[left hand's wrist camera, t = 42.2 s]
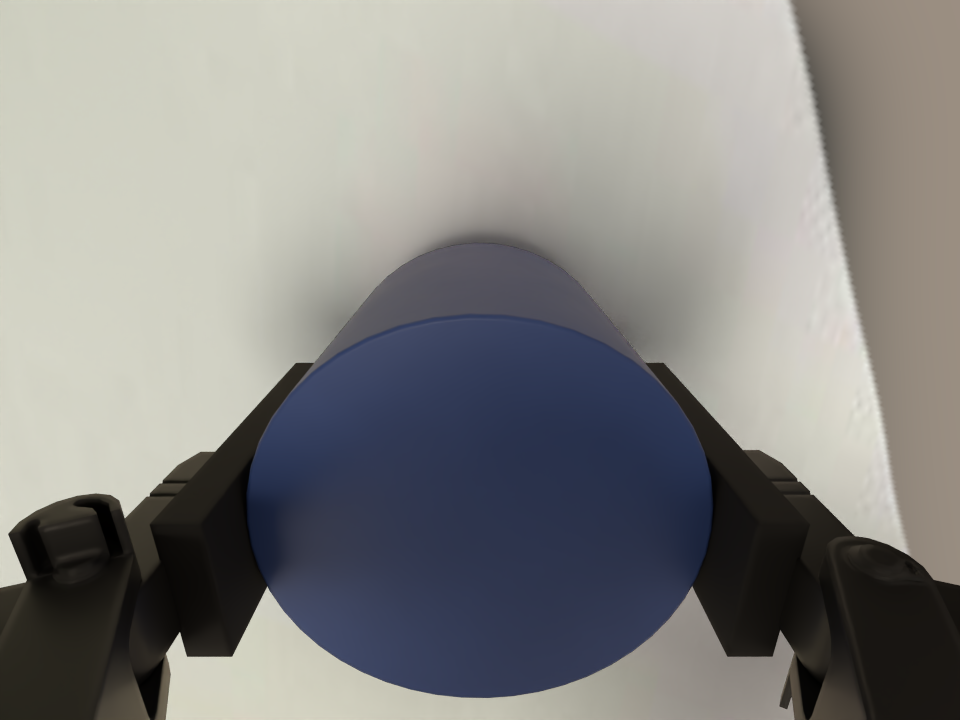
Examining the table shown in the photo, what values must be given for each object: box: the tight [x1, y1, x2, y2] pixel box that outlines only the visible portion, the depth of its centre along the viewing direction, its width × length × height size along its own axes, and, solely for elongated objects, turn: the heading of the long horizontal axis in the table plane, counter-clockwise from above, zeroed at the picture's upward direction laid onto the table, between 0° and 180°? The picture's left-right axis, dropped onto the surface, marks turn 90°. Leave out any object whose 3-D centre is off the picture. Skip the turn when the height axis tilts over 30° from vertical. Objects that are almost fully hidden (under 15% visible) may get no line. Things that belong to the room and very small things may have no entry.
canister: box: [247, 243, 713, 698], centre depth 13 cm, size 8×8×7 cm
